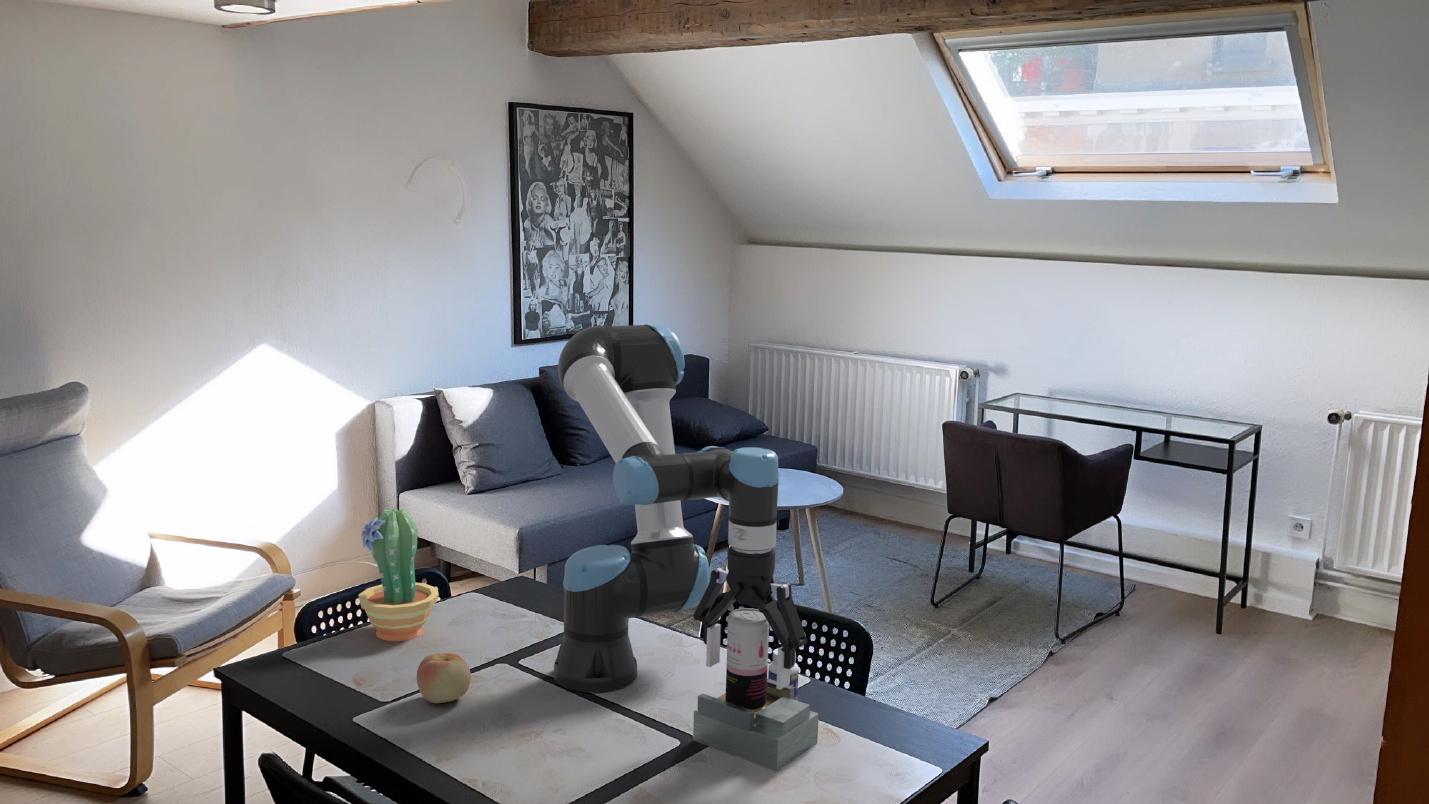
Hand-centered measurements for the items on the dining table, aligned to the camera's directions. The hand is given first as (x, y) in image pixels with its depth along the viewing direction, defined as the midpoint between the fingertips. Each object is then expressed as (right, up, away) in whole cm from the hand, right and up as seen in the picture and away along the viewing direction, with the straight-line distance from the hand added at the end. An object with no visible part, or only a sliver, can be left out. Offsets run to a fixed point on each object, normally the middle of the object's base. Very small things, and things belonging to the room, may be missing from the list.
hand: (747, 675), depth 177 cm
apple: (-52, -8, +12) cm, 54 cm away
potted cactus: (-68, -2, +42) cm, 80 cm away
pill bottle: (+7, -9, +16) cm, 20 cm away
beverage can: (0, -5, +1) cm, 5 cm away
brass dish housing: (+1, -11, +1) cm, 11 cm away
